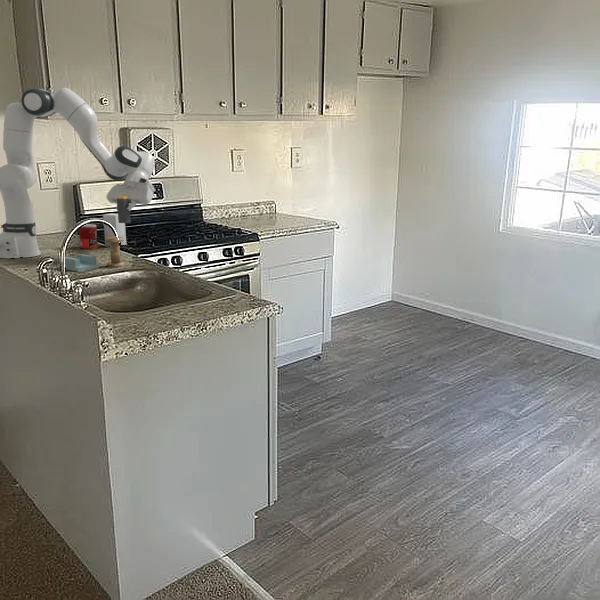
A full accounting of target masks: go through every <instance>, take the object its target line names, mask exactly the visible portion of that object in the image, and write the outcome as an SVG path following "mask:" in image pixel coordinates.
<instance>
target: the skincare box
mask: <svg viewBox="0 0 600 600" xmlns="http://www.w3.org/2000/svg"><path fill="white" fill-rule="evenodd" d="M102 220H104V221H106V222H108V223H110V224H111V225H112V226H113V227H114V228H115V230H116V231H117V234H118V236H119V237H123V238H124V241H122V242H121V245H126V246H127V236H126V235H127V233H126V223H119V221H118V213H106V214H102ZM103 230H104V245H106V246H105V247H109V246H110V242H106V239H105V238H107V237H115V235H114V233H113V231H112V229H111V228H110V227H109V226H107V225H105V224H104V223H103Z"/></svg>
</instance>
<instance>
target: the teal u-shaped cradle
mask: <svg viewBox="0 0 600 600" xmlns="http://www.w3.org/2000/svg"><path fill="white" fill-rule="evenodd" d="M76 255H77V257H75V258H74V257H71V256H70V257H69V256H64V257H65V263H66V269H65V270H68V271H73V272H77V273H79V272H86V271H91V270H96V269H99V268H100V264H99V263H97V256H95V255H90V254H84V253H79V254H76ZM60 264H61V263H58V264H57V265H58V266H57V267H58V269H61V268H60Z"/></svg>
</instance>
